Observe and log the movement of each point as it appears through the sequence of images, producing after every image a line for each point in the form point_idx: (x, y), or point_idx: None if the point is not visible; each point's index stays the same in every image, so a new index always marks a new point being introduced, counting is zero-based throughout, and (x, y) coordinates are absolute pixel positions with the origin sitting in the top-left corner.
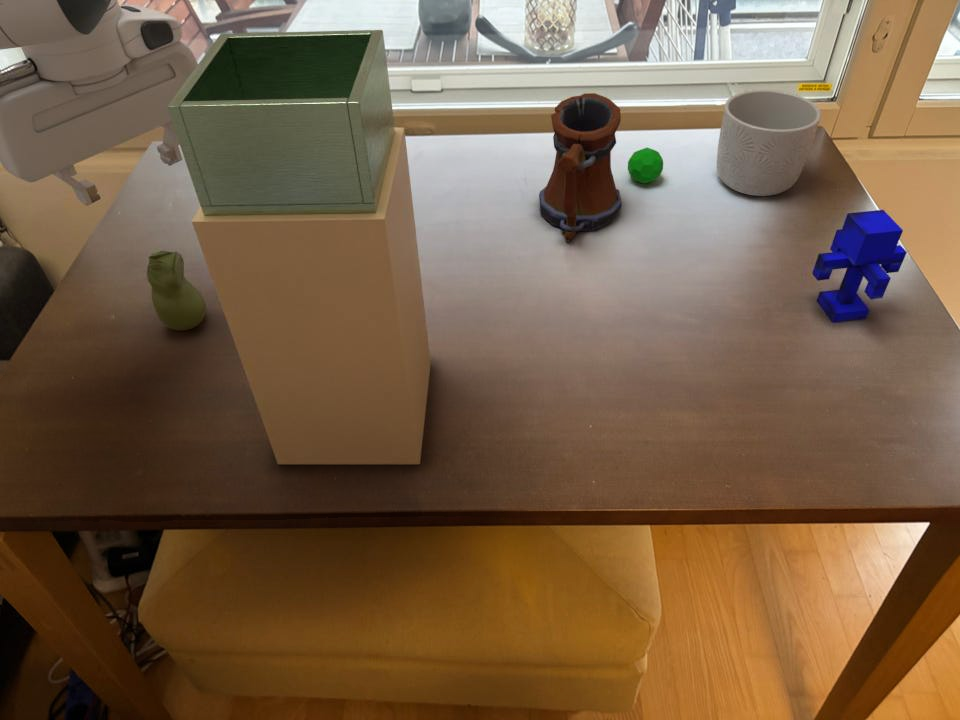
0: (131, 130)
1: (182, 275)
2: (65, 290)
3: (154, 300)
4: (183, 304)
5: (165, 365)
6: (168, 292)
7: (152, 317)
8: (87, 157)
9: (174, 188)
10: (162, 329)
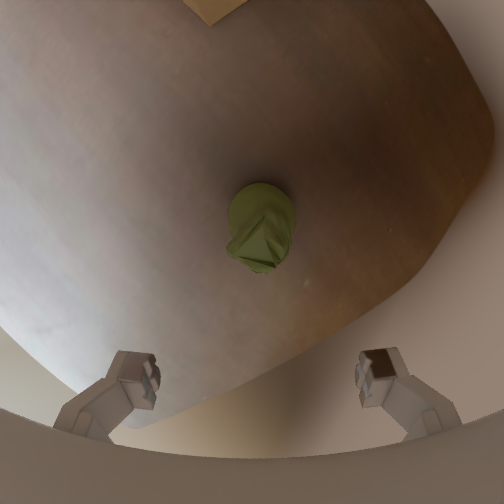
0: (213, 483)
1: (242, 228)
2: (307, 348)
3: (294, 226)
4: (267, 195)
5: (324, 163)
6: (280, 211)
7: None
8: (402, 444)
9: None
10: None
